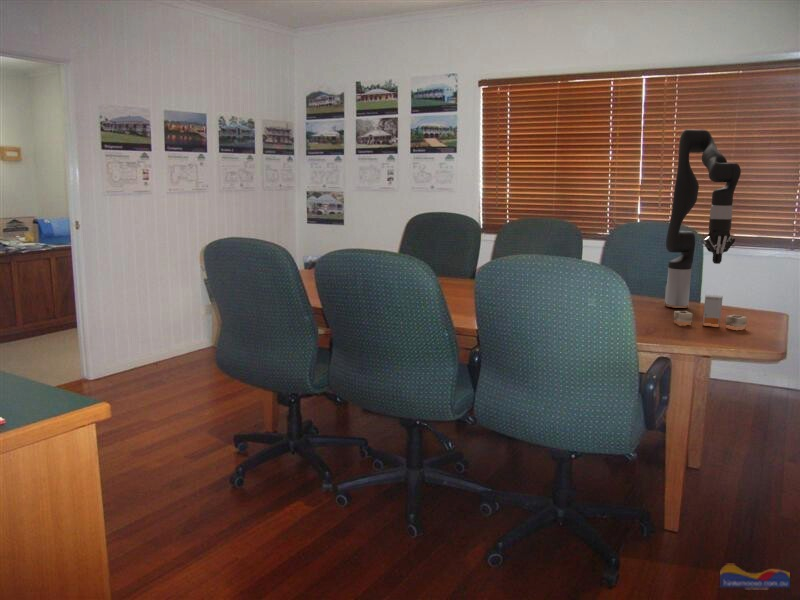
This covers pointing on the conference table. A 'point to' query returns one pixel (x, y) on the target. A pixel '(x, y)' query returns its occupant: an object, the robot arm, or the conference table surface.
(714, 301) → the skincare box
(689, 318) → the marked block
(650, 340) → the conference table surface
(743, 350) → the conference table surface
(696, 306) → the conference table surface
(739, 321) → the marked block
